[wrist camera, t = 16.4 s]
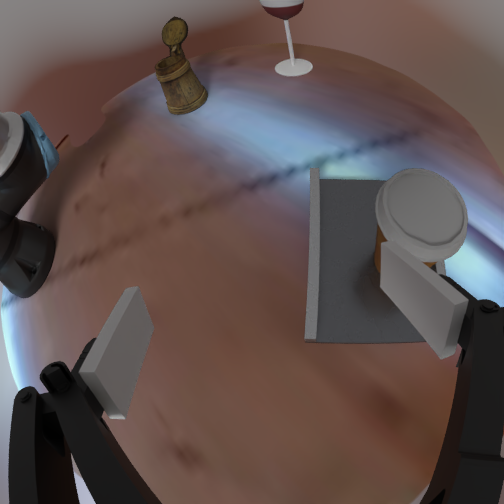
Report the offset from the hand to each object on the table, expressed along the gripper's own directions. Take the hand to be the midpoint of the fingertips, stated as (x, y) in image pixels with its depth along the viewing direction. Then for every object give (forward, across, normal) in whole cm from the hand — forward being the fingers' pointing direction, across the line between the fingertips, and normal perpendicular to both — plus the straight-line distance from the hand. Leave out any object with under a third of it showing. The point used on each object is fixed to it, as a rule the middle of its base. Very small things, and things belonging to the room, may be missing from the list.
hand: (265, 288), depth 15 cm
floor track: (+18, +15, -8) cm, 25 cm away
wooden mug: (+53, -7, +19) cm, 57 cm away
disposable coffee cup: (+16, +17, -9) cm, 25 cm away
